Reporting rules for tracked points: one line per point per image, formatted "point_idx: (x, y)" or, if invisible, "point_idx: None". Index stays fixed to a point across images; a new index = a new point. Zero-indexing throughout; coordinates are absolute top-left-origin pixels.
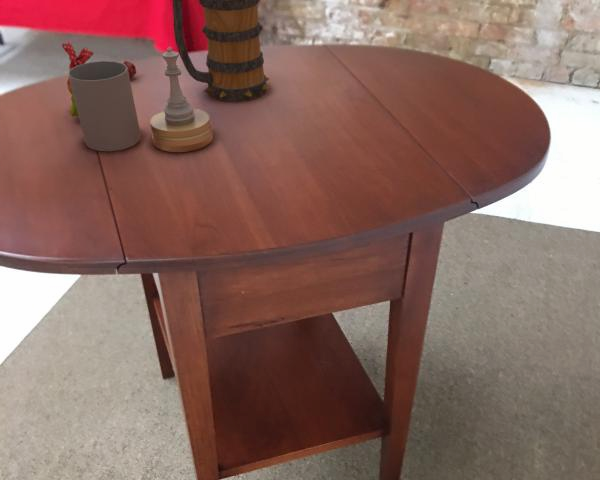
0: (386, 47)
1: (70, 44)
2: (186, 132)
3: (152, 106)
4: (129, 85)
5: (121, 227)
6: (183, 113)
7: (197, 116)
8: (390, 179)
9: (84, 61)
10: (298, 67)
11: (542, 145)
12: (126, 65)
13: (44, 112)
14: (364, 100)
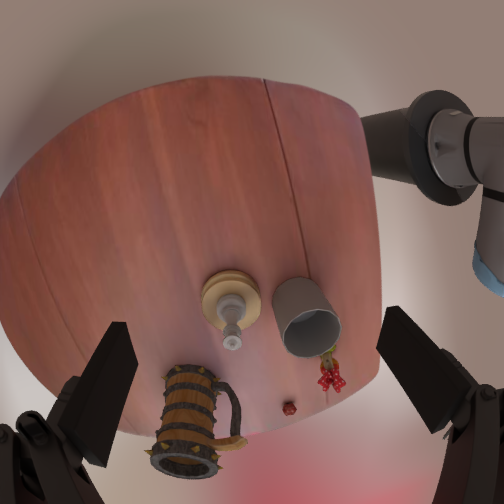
0: None
1: (338, 389)
2: (222, 280)
3: (265, 361)
4: (280, 327)
5: (273, 127)
6: (225, 300)
7: (214, 311)
8: (53, 203)
9: (325, 373)
10: (149, 410)
11: None
12: (290, 410)
13: (354, 350)
14: (86, 349)
